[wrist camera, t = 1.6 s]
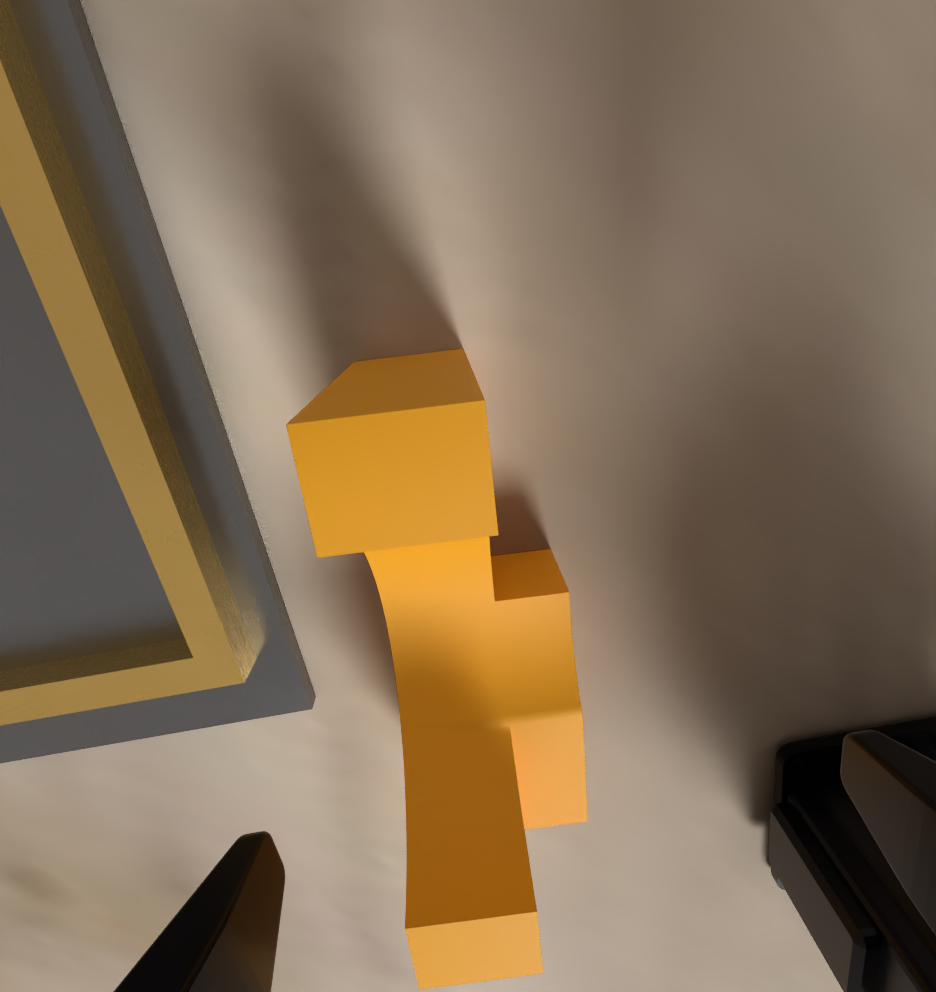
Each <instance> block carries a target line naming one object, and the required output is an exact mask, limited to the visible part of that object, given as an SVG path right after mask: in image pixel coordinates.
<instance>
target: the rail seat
mask: <svg viewBox="0 0 936 992" xmlns="http://www.w3.org/2000/svg"><path fill="white" fill-rule="evenodd" d="M315 697H316V696H315V694H314V691H313V688H312V685H311V682H310V679H309V676H308V673H307V670H306V667H305V664H304V661H303V658H302V655H301V652H300V649H299V646H298V643H297V640H296V638H295V635H294V632H293V629H292V626H291V623H290V620H289V617H288V614H287V611H286V608H285V605H284V602H283V599H282V596H281V593H280V590H279V587H278V584H277V581H276V579H275V576H274V573H273V570H272V567H271V564H270V561H269V558H268V555H267V552H266V549H265V546H264V543H263V540H262V537H261V534H260V531H259V528H258V525H257V523H256V520H255V517H254V514H253V511H252V508H251V505H250V502H249V499H248V496H247V493H246V490H245V487H244V484H243V481H242V478H241V475H240V472H239V469H238V467H237V464H236V461H235V458H234V455H233V452H232V449H231V446H230V443H229V440H228V437H227V434H226V431H225V428H224V425H223V422H222V419H221V416H220V413H219V410H218V408H217V405H216V402H215V399H214V396H213V393H212V390H211V387H210V384H209V381H208V378H207V375H206V372H205V369H204V366H203V363H202V360H201V357H200V354H199V352H198V349H197V346H196V343H195V340H194V337H193V334H192V331H191V328H190V325H189V322H188V319H187V316H186V313H185V310H184V307H183V304H182V301H181V298H180V295H179V293H178V290H177V287H176V284H175V281H174V278H173V275H172V272H171V269H170V266H169V263H168V260H167V257H166V254H165V251H164V248H163V245H162V242H161V239H160V237H159V234H158V231H157V228H156V225H155V222H154V219H153V216H152V213H151V210H150V207H149V204H148V201H147V198H146V195H145V192H144V189H143V186H142V183H141V181H140V178H139V175H138V172H137V169H136V166H135V163H134V160H133V157H132V154H131V151H130V148H129V145H128V142H127V139H126V136H125V133H124V130H123V127H122V124H121V122H120V119H119V116H118V113H117V110H116V107H115V104H114V101H113V98H112V95H111V92H110V89H109V86H108V83H107V80H106V77H105V74H104V71H103V68H102V66H101V63H100V60H99V57H98V54H97V51H96V48H95V45H94V42H93V39H92V36H91V33H90V30H89V27H88V24H87V21H86V18H85V15H84V12H83V10H82V7H81V4H80V1H79V0H0V763H5V762H10V761H16V760H22V759H28V758H33V757H39V756H45V755H51V754H56V753H62V752H68V751H74V750H79V749H85V748H91V747H97V746H102V745H108V744H114V743H120V742H125V741H131V740H137V739H143V738H148V737H154V736H160V735H166V734H171V733H177V732H183V731H189V730H194V729H200V728H206V727H212V726H217V725H223V724H229V723H235V722H240V721H246V720H252V719H258V718H263V717H269V716H275V715H281V714H286V713H292V712H298V711H304V710H309V709H312V708H313V704H314V701H315Z"/></svg>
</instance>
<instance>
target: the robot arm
mask: <svg viewBox="0 0 936 992" xmlns="http://www.w3.org/2000/svg"><path fill="white" fill-rule="evenodd" d="M769 862H770V864H771V873H772V876H773V878H774V880H775V881H776V883H777V885H778V886H779V887H780V888H781V889H784V890H786V892H787V894H788V895H789V897H790V899H791V901H792V902H793V904H794V906H795V908H796V909H797V911H798V913H799V915H800V916H801V918H802V920H803V922H804V923H805V925H806V927H807V928H808V930H809V932H810V934H811V935H812V937H813V939H814V941H815V942H816V944H817V946H818V948H819V949H820V951H821V953H822V955H823V956H824V958H825V960H826V962H827V963H828V965H829V967H830V968H831V970H832V972H833V974H834V975H835V977H836V979H837V981H838V982H839V984H840V986H841V988H842V989H843V991H844V992H936V718H930V719H924V720H919V721H913V722H907V723H901V724H895V725H889V726H884V727H878V728H872V729H866V730H860V731H854V732H849V733H843V734H837V735H831V736H825V737H819V738H813V739H808V740H802V741H796V742H791V743H788V744H785V745H784V746H782V747H781V748H780V749H779V750H778V751H777V754H776V764H775V788H774V804H773V807H772V809H771V812H770V833H769ZM284 885H285V870H284V866H283V863H282V860H281V858H280V856H279V853H278V851H277V849H276V846H275V844H274V841H273V839H272V837H271V835H270V834H269V833H268V832H266V831H262V832H256V833H250V834H245V835H243V836H241V837H240V838H238V839H237V840H236V842H235V843H234V844H233V845H232V846H231V848H230V849H229V850H228V851H227V853H226V854H225V855H224V856H223V858H222V859H221V860H220V861H219V862H218V864H217V865H216V866H215V867H214V869H213V870H212V871H211V872H210V874H209V875H208V876H207V877H206V878H205V880H204V881H203V882H202V883H201V885H200V886H199V887H198V888H197V890H196V891H195V892H194V893H193V894H192V896H191V897H190V898H189V899H188V901H187V902H186V903H185V904H184V906H183V907H182V908H181V909H180V911H179V912H178V913H177V914H176V915H175V917H174V918H173V919H172V920H171V922H170V923H169V924H168V925H167V927H166V928H165V929H164V930H163V931H162V933H161V934H160V935H159V936H158V938H157V939H156V940H155V941H154V943H153V944H152V945H151V946H150V947H149V949H148V950H147V951H146V952H145V954H144V955H143V956H142V957H141V959H140V960H139V961H138V962H137V963H136V965H135V966H134V967H133V968H132V970H131V971H130V972H129V973H128V975H127V976H126V977H125V978H124V980H123V981H122V982H121V983H120V984H119V986H118V987H117V988H116V989H115V991H114V992H271V986H272V979H273V971H274V963H275V955H276V948H277V940H278V932H279V924H280V916H281V908H282V901H283V893H284Z"/></svg>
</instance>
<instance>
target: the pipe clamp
mask: <svg viewBox="0 0 936 992" xmlns="http://www.w3.org/2000/svg"><path fill="white" fill-rule="evenodd" d="M286 427H287V431H288V435H289V440H290V444H291V448H292V452H293V457H294V461H295V465H296V469H297V473H298V478H299V482H300V486H301V490H302V495H303V499H304V503H305V507H306V512H307V516H308V520H309V524H310V529H311V533H312V537H313V541H314V546H315V550H316V554H317V558H321V557H329V556H337V555H345V554H353V553H361V552H364V554H365V556H366V558H367V560H368V562H369V564H370V567H371V569H372V572H373V575H374V578H375V581H376V584H377V587H378V591H379V594H380V598H381V602H382V606H383V610H384V615H385V619H386V624H387V629H388V634H389V639H390V645H391V651H392V656H393V663H394V670H395V677H396V685H397V693H398V701H399V710H400V721H401V732H402V744H403V758H404V774H405V796H406V830H407V884H406V917H405V931H406V935H407V940H408V944H409V948H410V952H411V957H412V961H413V965H414V969H415V974H416V978H417V982H418V986H419V990H420V989H428V988H436V987H443V986H451V985H458V984H466V983H474V982H481V981H489V980H496V979H504V978H512V977H519V976H527V975H535V974H542V973H543V966H542V956H541V946H540V936H539V927H538V917H537V909H536V902H535V896H534V890H533V883H532V877H531V870H530V864H529V857H528V850H527V844H526V837H525V830H526V829H534V828H541V827H549V826H557V825H565V824H572V823H580V822H588V819H587V798H586V778H585V757H584V736H583V715H582V709H581V703H580V696H579V690H578V683H577V675H576V668H575V659H574V651H573V641H572V630H571V617H570V596H569V590H568V588H567V586H566V583H565V581H564V579H563V576H562V574H561V572H560V569H559V567H558V565H557V562H556V560H555V558H554V555H553V553H552V551H551V549H545V550H537V551H529V552H521V553H513V554H505V555H497V556H491V554H490V538H489V536H497V535H498V525H497V515H496V505H495V495H494V486H493V476H492V466H491V456H490V446H489V437H488V427H487V417H486V407H485V400H484V397H483V395H482V392H481V390H480V388H479V385H478V383H477V380H476V378H475V375H474V373H473V371H472V368H471V366H470V363H469V361H468V359H467V356H466V354H465V351H464V349H455V350H447V351H438V352H430V353H422V354H414V355H405V356H397V357H389V358H381V359H372V360H364V361H356V362H353V363H352V364H351V365H350V366H349V367H348V368H347V369H346V370H345V371H344V372H343V373H342V374H340V375H339V376H338V377H337V378H336V379H335V380H334V381H333V382H332V383H331V384H330V385H328V386H327V387H326V388H325V389H324V390H323V391H322V392H321V393H320V394H319V395H318V396H317V397H315V398H314V399H313V400H312V401H311V402H310V403H309V404H308V405H307V406H306V407H305V408H304V409H302V410H301V411H300V412H299V413H298V414H297V415H296V416H295V417H294V418H293V419H292V420H290V421H289V422H288V423H287V424H286Z"/></svg>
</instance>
